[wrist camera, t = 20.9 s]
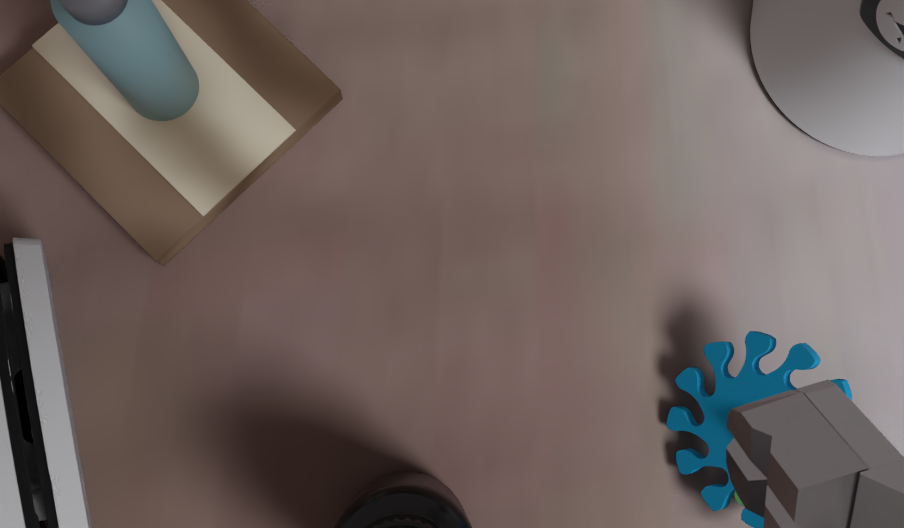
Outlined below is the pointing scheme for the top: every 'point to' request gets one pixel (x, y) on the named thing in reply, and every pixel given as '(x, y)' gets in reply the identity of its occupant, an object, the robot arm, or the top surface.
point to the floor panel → (174, 141)
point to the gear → (733, 406)
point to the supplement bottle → (405, 504)
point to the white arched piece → (35, 401)
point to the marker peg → (133, 53)
